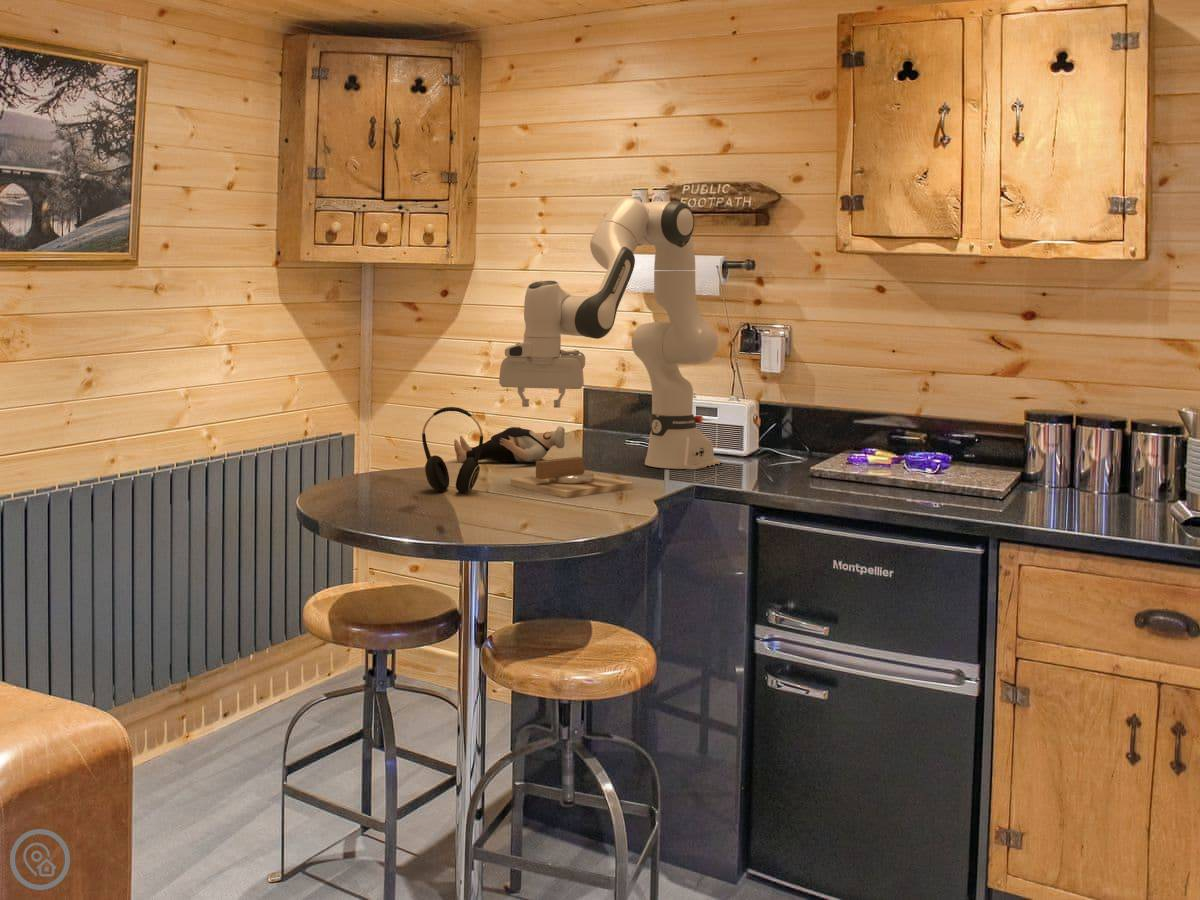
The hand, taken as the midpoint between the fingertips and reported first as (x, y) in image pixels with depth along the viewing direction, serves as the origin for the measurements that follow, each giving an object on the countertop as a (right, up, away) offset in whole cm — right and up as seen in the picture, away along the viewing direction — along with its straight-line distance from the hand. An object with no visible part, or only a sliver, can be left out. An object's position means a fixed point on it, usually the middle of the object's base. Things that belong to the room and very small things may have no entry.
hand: (541, 407), depth 270 cm
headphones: (-20, -20, -7) cm, 30 cm away
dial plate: (+7, -19, +2) cm, 21 cm away
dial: (+5, -18, +1) cm, 18 cm away
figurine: (-11, -14, +40) cm, 43 cm away
